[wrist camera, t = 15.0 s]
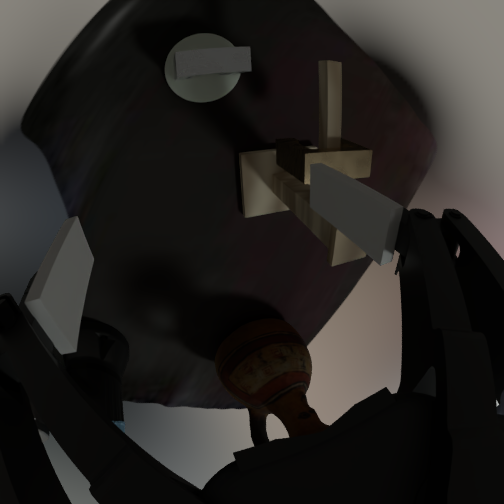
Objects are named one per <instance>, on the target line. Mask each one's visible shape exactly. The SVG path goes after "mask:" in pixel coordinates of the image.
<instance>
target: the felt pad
mask: <svg viewBox="0 0 504 504" xmlns="http://www.w3.org/2000/svg"><path fill="white" fill-rule="evenodd" d="M223 47H234V46H233V44H231V43H230V42H229V41H228V40H226V39H225V38H223V37H221V36H218V35H215V34H209V33H201V34H195V35H191V36H189V37H186V38H184V39H183V40H181V41H180V42H178V43H177V44H176V45H175V46H174V47H173V48H172V50H171V51H170V53H169V54H168V57H167V59H166V63H165V77H166V80H167V83H168V85H169V86H170V88H171V89H172V90H173V91H174V92H175V93H176V94H177V95H178V96H180V97H182V98H184V99H186V100H189V101H193V102H210V101H214V100H217V99H219V98H221V97H223V96H225V95H226V94H227V93H229V92H230V91H231V90H232V89H233V87H234V86H235V85H236V83H237V82H238V79H239V77H240V74H241V73H240V74H235V75H221V76H219V74H209V75H199V76H192V77H193V78H192V79H185V80H178V81H174V70H173V57H174V54H175V52H180V51H188V50H197V49H208V48H223Z"/></svg>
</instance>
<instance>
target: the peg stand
mask: <svg viewBox="0 0 504 504" xmlns="http://www.w3.org/2000/svg"><path fill="white" fill-rule="evenodd" d="M341 109H342V70H341V62H336V61H328V60H327V61H319V149H322V148H340V141H341ZM305 147H307V148H310V149H317V147H315V146H305ZM239 163H240V177H241V191H242V205H243V215H244V216H245V218H247V217H252V216H258V215H263V214H268V213H274V212H279V211H285V210H291V211H292V212H293V213H294V214H295V215H296V216H297V217H298V218H299V219H300V220H301V221H302V222H303V223H304V224H305V225H306V226H307V227H308V228H309V229H310V230H311V231H312V232H313V233H314V234H315V235H316V236H317V237H318V238H319V239H320V240H321V241H322V242H323V243H324V245H325V246H326V247H327V248H328V256H327V262H328V263H329V264H330V265H331V266H335V265H338V264H342V263H345V262H349V261H352V260H356V259H359V258H363V257H365V256H366V253H365V252H364V251H363V250H362V249H361V248H359V247H358V246H357V245H356V244H355V243H353V242H352V241H351V240H350V239H349V238H348V237H346V236H345V235H344V234H343V233H341V232H340V231H339V230H338V229H337V228H335V227H334V226H333V225H332V224H330V223H329V222H328V221H327V220H326V219H324V218H323V217H322V216H321V215H319V214H318V213H317V212H315V211H314V210H313V209H312V208H310V184H303V183H302V182H301V181H299V180H298V179H296V178H295V177H294V176H292V175H291V174H289V173H288V172H287V171H285V170H284V169H282V168H281V167H279V166H278V165H277V164H276V149H268V150H259V151H250V152H242V153H239Z"/></svg>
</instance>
